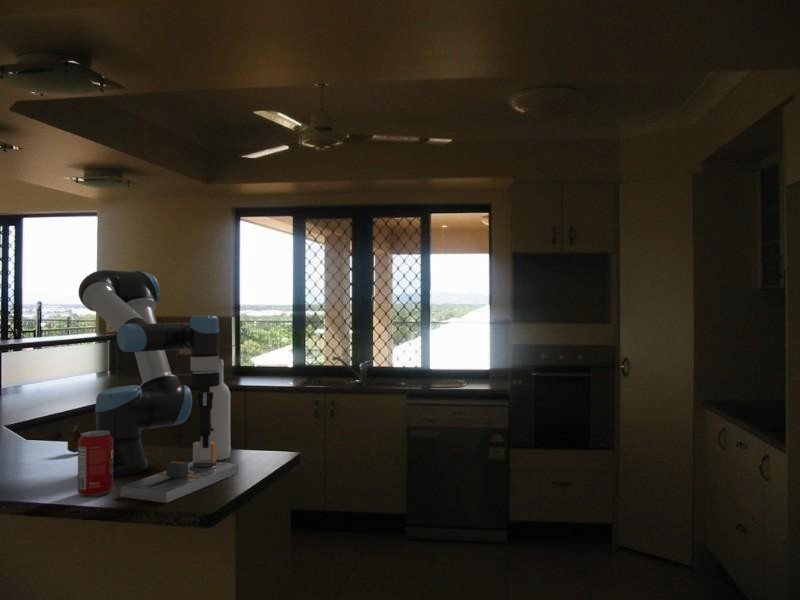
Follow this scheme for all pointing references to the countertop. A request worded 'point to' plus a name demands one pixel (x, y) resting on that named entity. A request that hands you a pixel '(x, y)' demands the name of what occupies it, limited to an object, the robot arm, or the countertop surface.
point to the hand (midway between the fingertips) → (206, 457)
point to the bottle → (221, 417)
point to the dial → (197, 459)
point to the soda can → (95, 463)
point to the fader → (176, 469)
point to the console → (177, 483)
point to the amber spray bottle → (74, 439)
